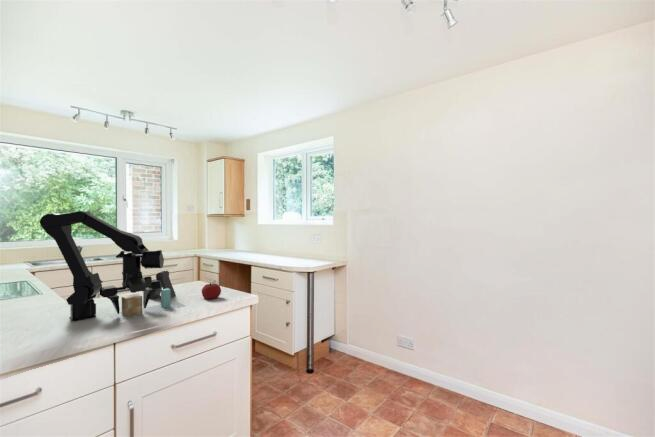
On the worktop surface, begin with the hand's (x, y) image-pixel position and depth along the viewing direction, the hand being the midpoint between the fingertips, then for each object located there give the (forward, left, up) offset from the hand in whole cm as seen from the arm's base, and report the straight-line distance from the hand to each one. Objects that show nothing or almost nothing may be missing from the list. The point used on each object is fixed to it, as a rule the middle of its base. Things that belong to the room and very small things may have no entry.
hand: (131, 310), depth 114 cm
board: (+6, 0, -2) cm, 6 cm away
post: (+12, 0, -1) cm, 12 cm away
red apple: (+31, -1, -2) cm, 31 cm away
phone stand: (+17, +16, -2) cm, 23 cm away
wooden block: (0, 0, -1) cm, 1 cm away
